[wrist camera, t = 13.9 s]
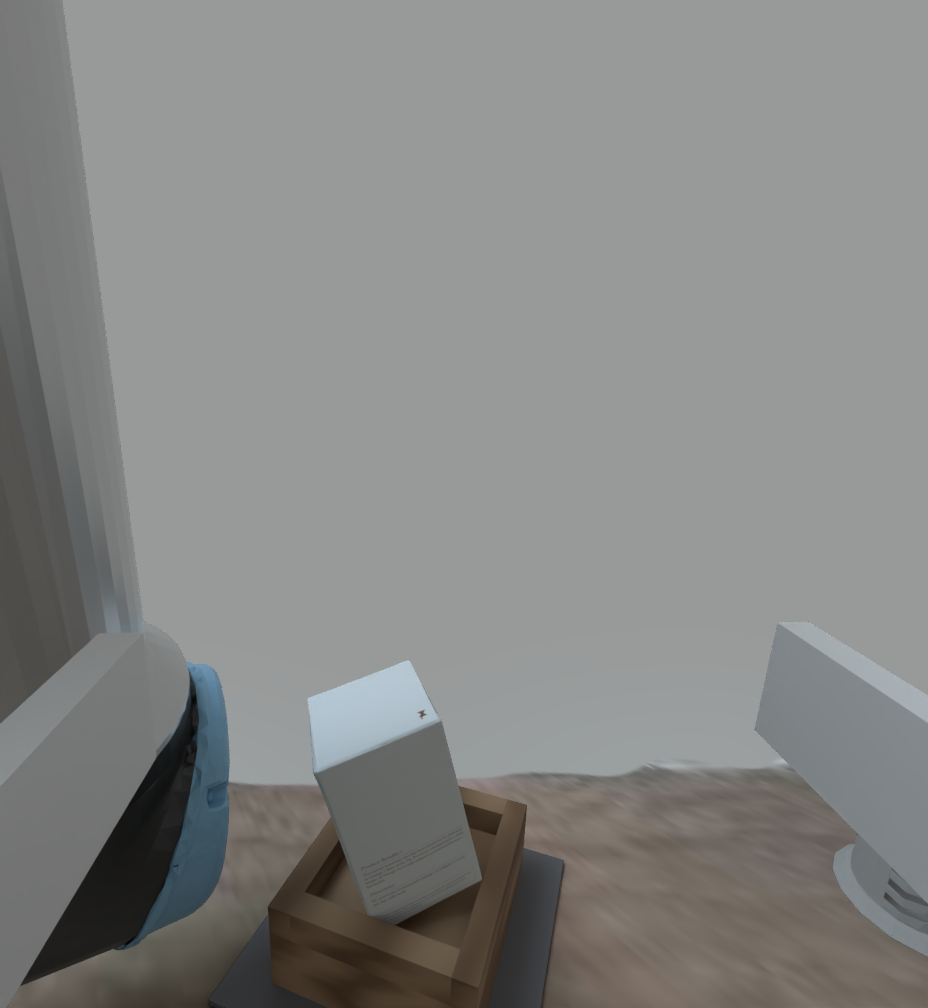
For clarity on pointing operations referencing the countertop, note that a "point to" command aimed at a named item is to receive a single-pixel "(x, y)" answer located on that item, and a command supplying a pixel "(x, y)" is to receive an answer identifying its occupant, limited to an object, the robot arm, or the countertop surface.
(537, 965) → the mat
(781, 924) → the countertop surface
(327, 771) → the supplement box
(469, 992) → the tray
